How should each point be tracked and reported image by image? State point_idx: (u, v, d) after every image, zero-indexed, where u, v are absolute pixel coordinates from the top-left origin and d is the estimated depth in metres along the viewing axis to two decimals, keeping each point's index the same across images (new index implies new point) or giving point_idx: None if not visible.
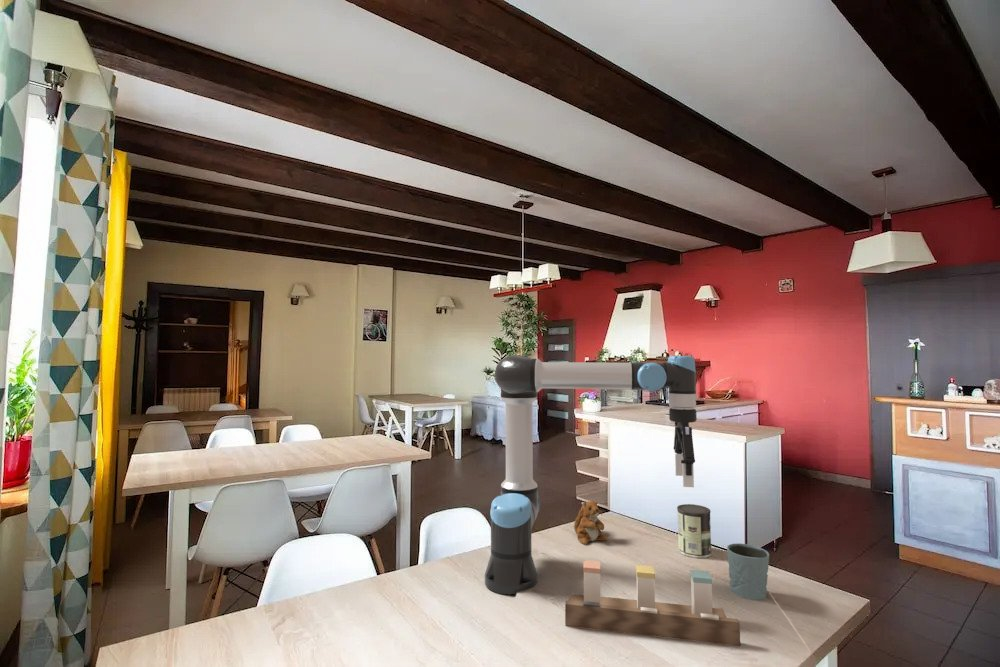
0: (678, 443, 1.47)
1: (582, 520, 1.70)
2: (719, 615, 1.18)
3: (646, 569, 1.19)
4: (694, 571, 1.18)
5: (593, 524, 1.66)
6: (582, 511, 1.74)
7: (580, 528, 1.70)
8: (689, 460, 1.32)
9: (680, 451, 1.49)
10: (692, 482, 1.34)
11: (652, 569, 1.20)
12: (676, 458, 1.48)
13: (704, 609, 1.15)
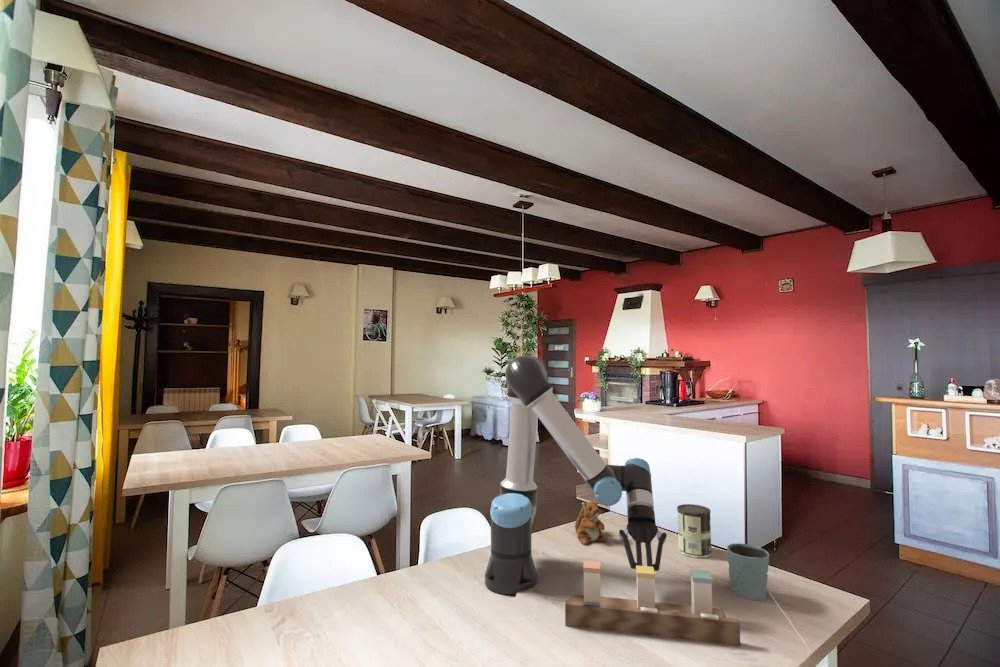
0: None
1: (582, 520, 1.70)
2: (719, 615, 1.18)
3: (646, 570, 1.19)
4: (694, 571, 1.18)
5: (593, 524, 1.66)
6: (583, 511, 1.74)
7: (580, 528, 1.69)
8: None
9: None
10: None
11: (652, 569, 1.20)
12: None
13: (704, 609, 1.15)
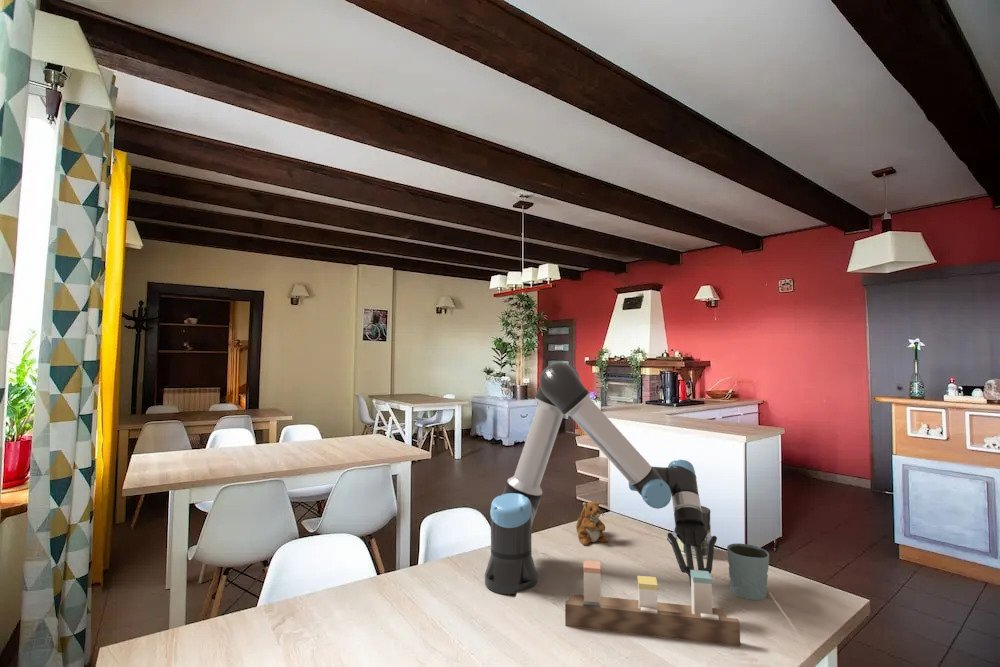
0: (691, 554, 1.28)
1: (583, 521, 1.70)
2: (719, 615, 1.18)
3: (648, 581, 1.13)
4: (694, 571, 1.18)
5: (593, 525, 1.65)
6: (584, 512, 1.74)
7: (581, 529, 1.69)
8: None
9: None
10: None
11: (654, 580, 1.14)
12: None
13: (704, 609, 1.15)
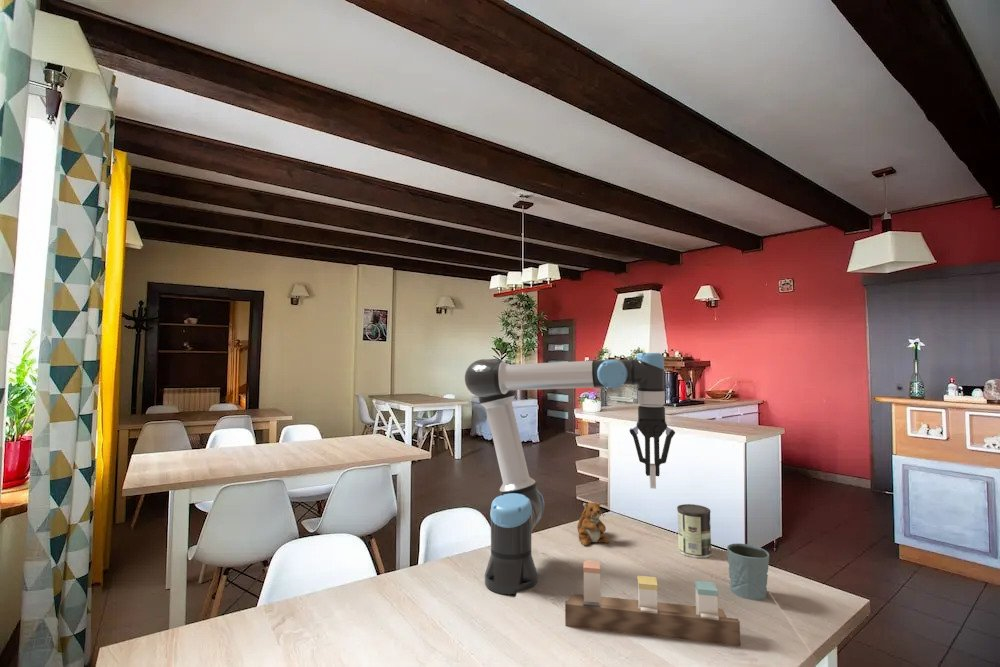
0: (649, 447, 1.40)
1: (584, 521, 1.69)
2: (719, 615, 1.18)
3: (648, 581, 1.13)
4: (699, 582, 1.13)
5: (594, 525, 1.65)
6: (585, 512, 1.73)
7: (581, 529, 1.69)
8: None
9: None
10: None
11: (654, 580, 1.14)
12: None
13: None
